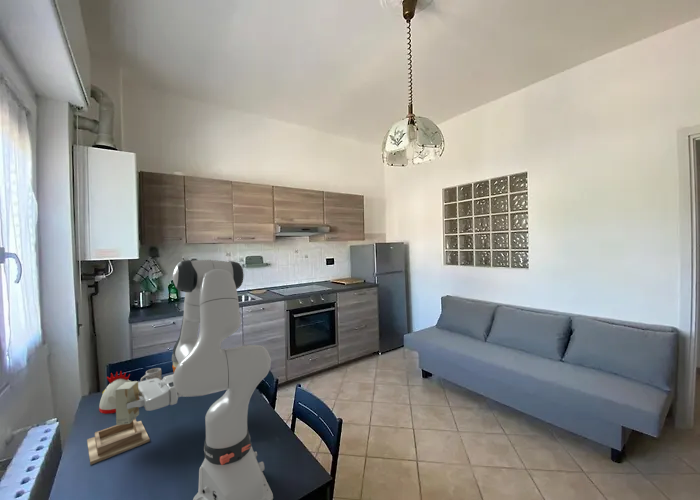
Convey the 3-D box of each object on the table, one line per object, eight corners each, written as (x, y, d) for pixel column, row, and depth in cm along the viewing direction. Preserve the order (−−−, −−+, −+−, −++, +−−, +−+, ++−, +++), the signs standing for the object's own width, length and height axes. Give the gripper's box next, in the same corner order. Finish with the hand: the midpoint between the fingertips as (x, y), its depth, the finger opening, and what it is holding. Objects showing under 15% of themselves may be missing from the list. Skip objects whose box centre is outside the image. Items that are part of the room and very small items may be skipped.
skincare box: (129, 424, 101) (128, 389, 101) (115, 425, 101) (114, 390, 100) (140, 413, 108) (138, 380, 107) (126, 414, 107) (125, 381, 107)
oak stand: (149, 441, 107) (149, 431, 107) (90, 464, 96) (89, 454, 95) (141, 423, 118) (140, 414, 118) (87, 442, 107) (86, 432, 107)
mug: (155, 379, 158) (155, 367, 157) (164, 381, 155) (164, 368, 155) (136, 388, 148) (135, 375, 148) (145, 390, 146) (145, 376, 146)
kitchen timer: (103, 402, 135) (102, 369, 135) (140, 394, 142) (139, 363, 142) (95, 417, 123) (94, 381, 123) (136, 407, 130) (135, 373, 130)
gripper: (162, 371, 121) (119, 382, 111) (177, 387, 106) (128, 402, 96) (163, 386, 121) (120, 399, 111) (177, 405, 106) (129, 422, 96)
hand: (124, 401), depth 104 cm, fingers closed on skincare box, 7 cm apart
